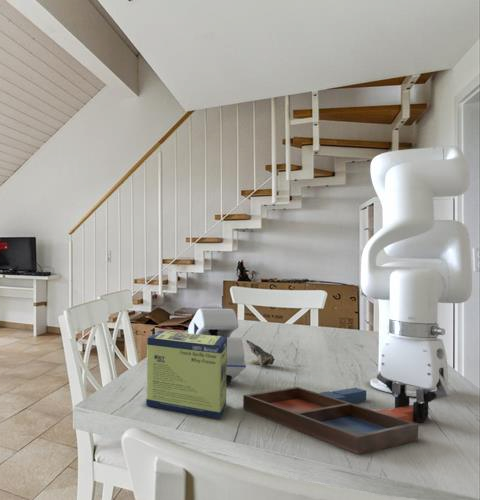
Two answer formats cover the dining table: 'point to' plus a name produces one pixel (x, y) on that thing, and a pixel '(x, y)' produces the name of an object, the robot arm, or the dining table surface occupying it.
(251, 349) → the shark head
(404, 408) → the orange stepped bar
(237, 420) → the dining table surface
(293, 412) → the cutlery tray
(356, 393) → the blue tall stepped post
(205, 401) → the protein box
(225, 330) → the robotic device
